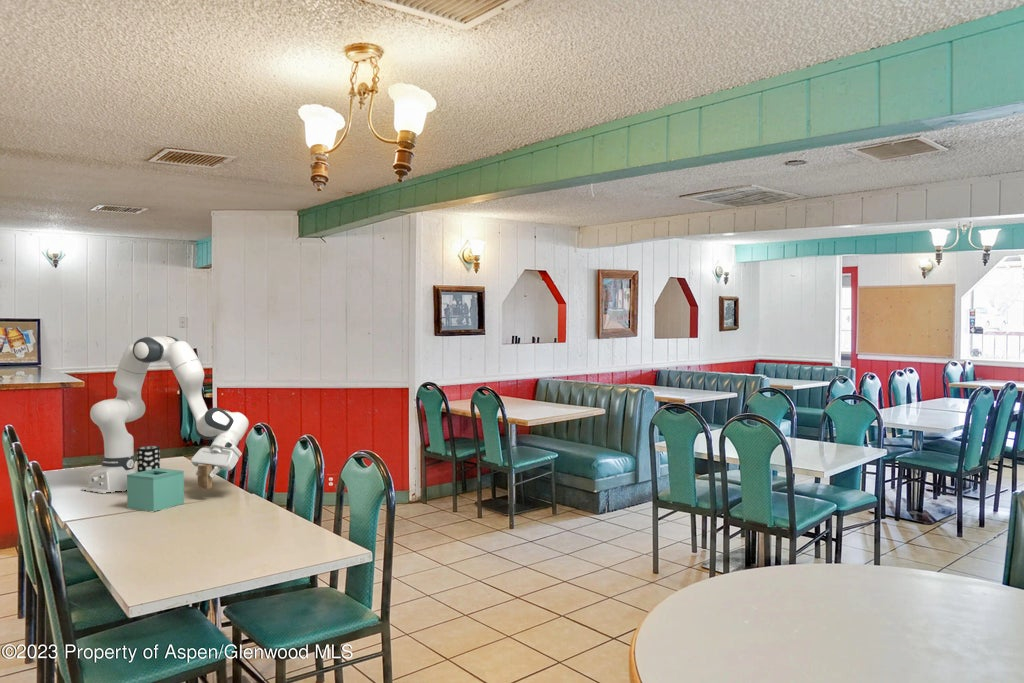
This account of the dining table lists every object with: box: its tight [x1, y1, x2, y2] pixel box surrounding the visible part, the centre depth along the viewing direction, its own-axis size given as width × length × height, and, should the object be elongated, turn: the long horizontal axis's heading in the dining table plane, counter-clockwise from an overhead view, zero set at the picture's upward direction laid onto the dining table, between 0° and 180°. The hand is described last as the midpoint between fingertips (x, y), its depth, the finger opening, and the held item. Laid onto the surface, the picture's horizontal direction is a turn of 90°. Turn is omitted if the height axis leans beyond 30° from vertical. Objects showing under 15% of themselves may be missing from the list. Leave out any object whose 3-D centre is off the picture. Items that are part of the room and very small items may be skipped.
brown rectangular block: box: [197, 464, 213, 490], centre depth 293 cm, size 5×2×9 cm, turn 66°
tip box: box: [126, 467, 185, 512], centre depth 283 cm, size 14×14×13 cm
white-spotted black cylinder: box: [136, 445, 161, 473], centre depth 300 cm, size 8×8×20 cm
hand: (203, 475), depth 292 cm, fingers closed on brown rectangular block, 5 cm apart
